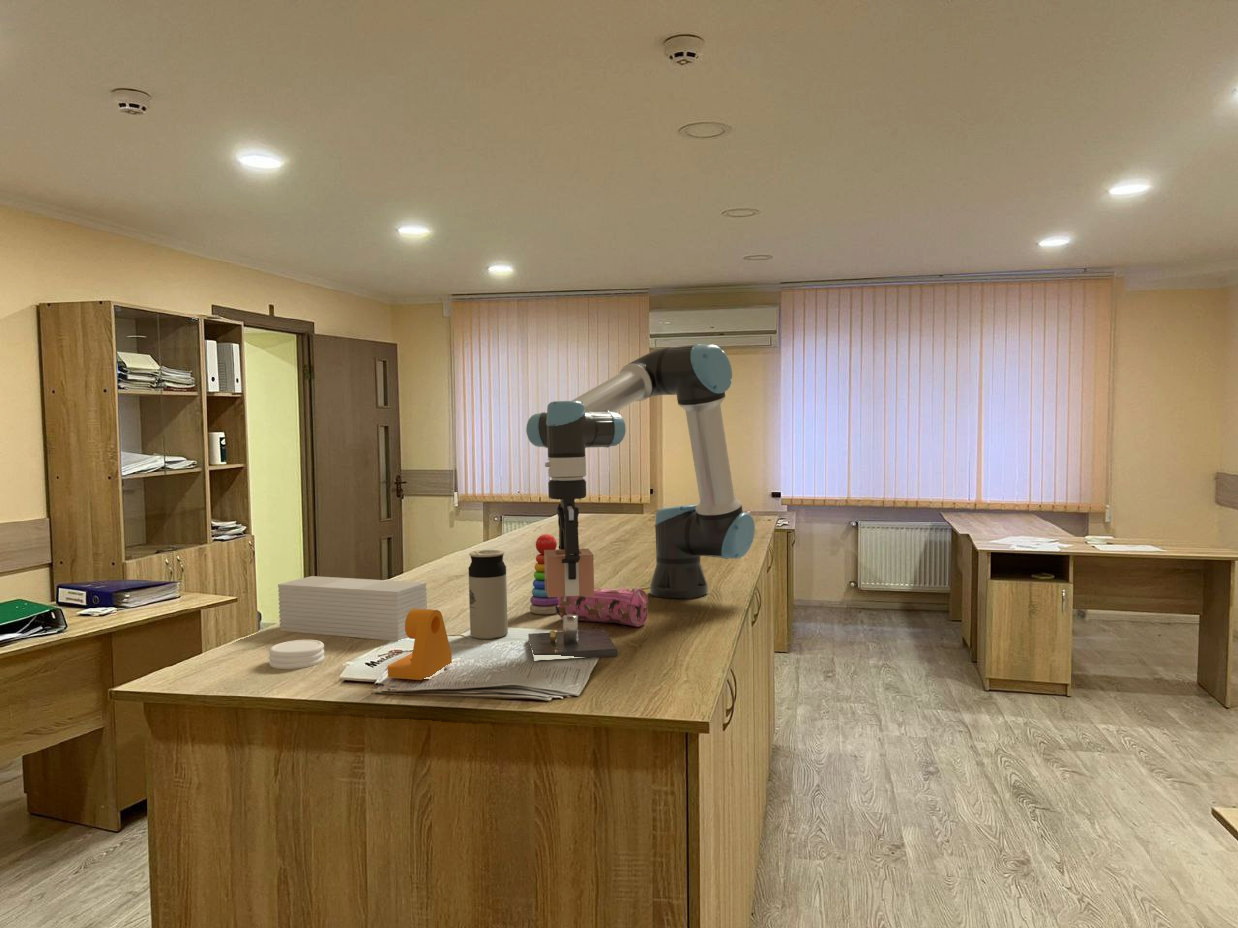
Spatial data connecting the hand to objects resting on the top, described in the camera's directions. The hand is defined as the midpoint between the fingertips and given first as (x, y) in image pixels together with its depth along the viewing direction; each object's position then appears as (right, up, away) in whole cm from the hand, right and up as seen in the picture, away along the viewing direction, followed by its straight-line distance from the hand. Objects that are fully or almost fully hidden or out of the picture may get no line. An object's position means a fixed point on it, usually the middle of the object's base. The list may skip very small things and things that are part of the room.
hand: (569, 590), depth 169 cm
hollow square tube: (0, 0, 0) cm, 0 cm away
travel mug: (-18, -12, +13) cm, 25 cm away
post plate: (0, -12, +1) cm, 12 cm away
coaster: (-52, -13, -5) cm, 54 cm away
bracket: (-26, -13, -15) cm, 33 cm away
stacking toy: (-8, -10, +35) cm, 37 cm away
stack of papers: (-50, -12, +20) cm, 55 cm away
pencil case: (+6, -11, +22) cm, 25 cm away
